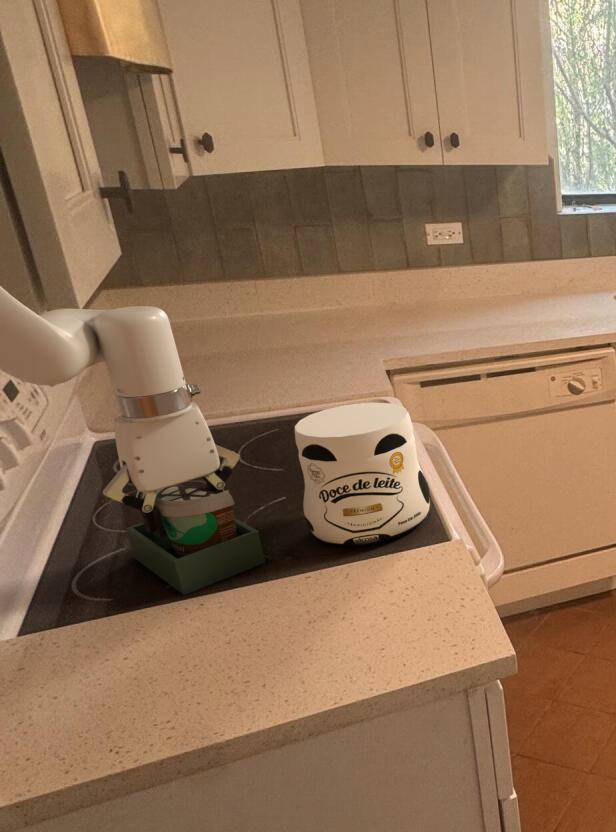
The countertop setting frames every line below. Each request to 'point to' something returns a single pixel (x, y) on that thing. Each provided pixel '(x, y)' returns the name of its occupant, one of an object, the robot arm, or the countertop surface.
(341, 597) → the countertop surface
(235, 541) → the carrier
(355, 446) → the milk container
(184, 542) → the food container
